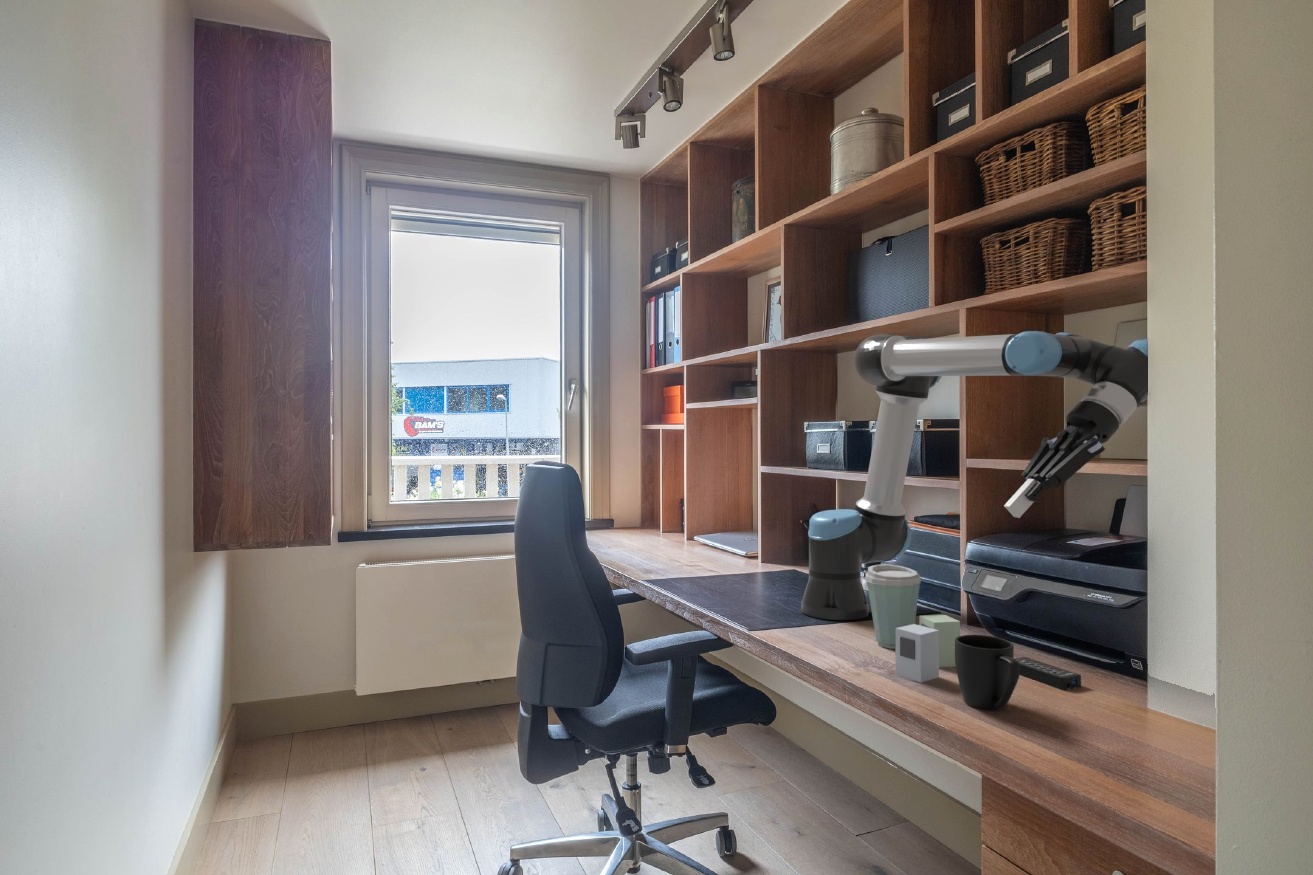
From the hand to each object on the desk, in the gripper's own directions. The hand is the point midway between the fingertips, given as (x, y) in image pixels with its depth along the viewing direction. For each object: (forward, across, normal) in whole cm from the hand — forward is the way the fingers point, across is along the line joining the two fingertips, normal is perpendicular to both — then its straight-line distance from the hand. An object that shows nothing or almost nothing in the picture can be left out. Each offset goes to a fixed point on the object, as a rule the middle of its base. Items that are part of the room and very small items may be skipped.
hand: (1011, 511), depth 124 cm
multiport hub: (+17, +1, +24) cm, 29 cm away
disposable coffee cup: (+28, -21, +12) cm, 37 cm away
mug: (+29, +13, +11) cm, 33 cm away
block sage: (+25, -9, +14) cm, 31 cm away
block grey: (+31, -3, +9) cm, 32 cm away
